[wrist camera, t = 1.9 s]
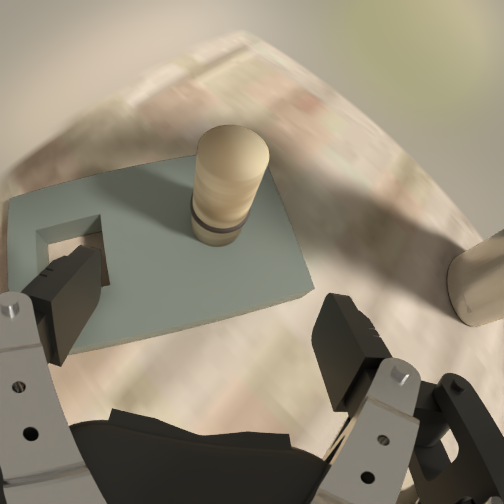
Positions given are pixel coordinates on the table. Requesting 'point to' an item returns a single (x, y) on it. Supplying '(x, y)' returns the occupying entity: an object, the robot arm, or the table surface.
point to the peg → (226, 182)
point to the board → (157, 251)
